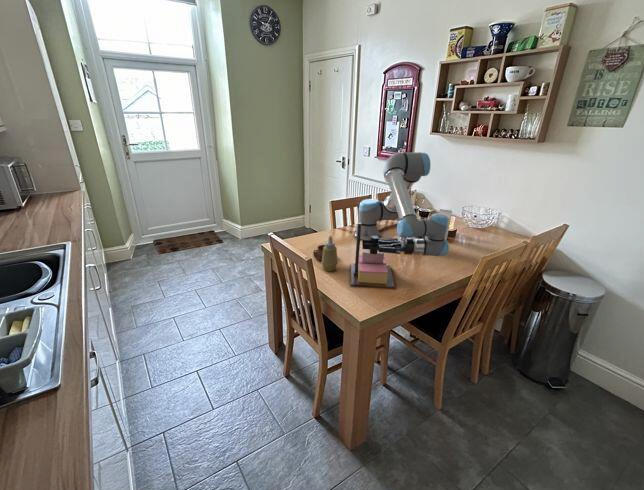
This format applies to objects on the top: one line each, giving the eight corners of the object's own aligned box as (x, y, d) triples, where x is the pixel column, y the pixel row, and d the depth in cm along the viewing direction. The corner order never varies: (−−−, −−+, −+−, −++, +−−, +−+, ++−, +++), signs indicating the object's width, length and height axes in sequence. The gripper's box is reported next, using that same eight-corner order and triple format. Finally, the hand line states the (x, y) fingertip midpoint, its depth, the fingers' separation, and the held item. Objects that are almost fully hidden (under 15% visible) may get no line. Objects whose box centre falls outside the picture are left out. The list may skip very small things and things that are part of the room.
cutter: (361, 263, 160) (363, 235, 154) (382, 264, 159) (385, 236, 153) (362, 267, 157) (364, 237, 150) (383, 268, 156) (386, 238, 150)
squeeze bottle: (330, 264, 172) (331, 231, 164) (340, 269, 166) (342, 236, 158) (318, 268, 167) (318, 235, 160) (327, 274, 161) (328, 240, 154)
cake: (357, 265, 168) (358, 255, 166) (383, 267, 167) (384, 256, 165) (358, 282, 152) (359, 270, 150) (386, 283, 151) (388, 272, 149)
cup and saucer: (321, 264, 171) (322, 253, 168) (308, 256, 180) (308, 246, 177) (339, 259, 177) (340, 248, 175) (326, 251, 186) (326, 241, 184)
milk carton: (445, 241, 203) (451, 212, 195) (434, 239, 206) (438, 210, 198) (447, 237, 209) (452, 209, 201) (435, 235, 212) (440, 207, 204)
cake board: (350, 265, 171) (353, 215, 160) (389, 267, 169) (395, 217, 158) (350, 286, 151) (354, 231, 140) (394, 288, 149) (401, 233, 138)
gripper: (415, 261, 146) (362, 259, 148) (409, 247, 161) (361, 244, 163) (417, 246, 143) (363, 243, 145) (411, 232, 158) (362, 230, 160)
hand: (362, 244), depth 154 cm, fingers closed on cutter, 4 cm apart
